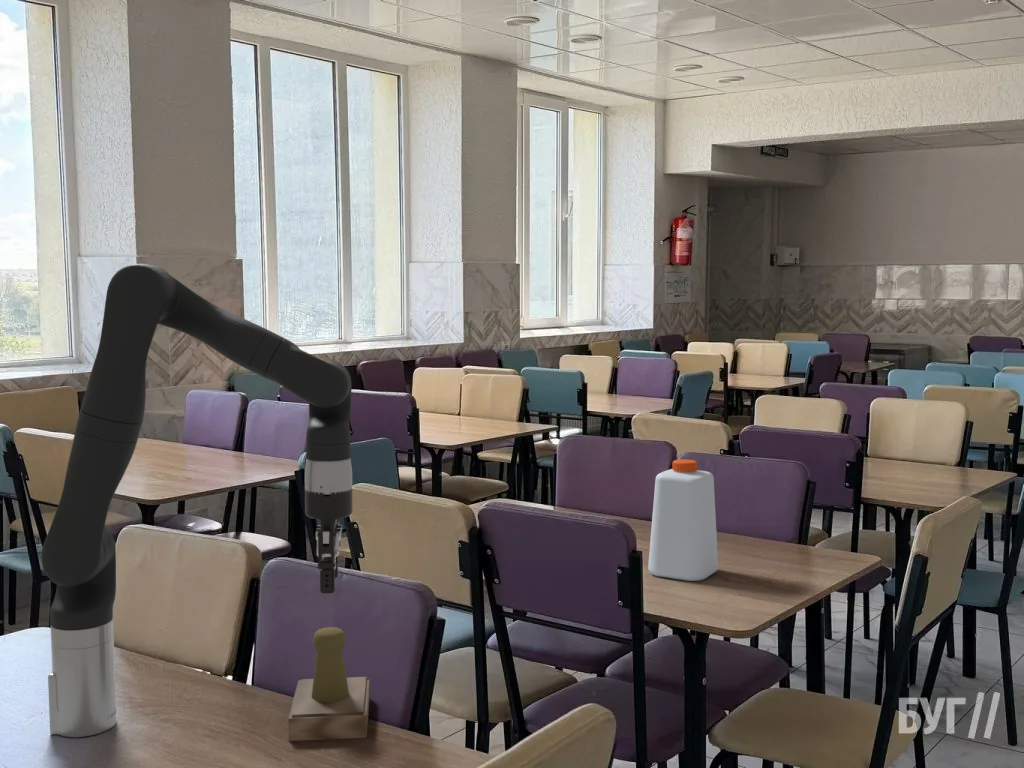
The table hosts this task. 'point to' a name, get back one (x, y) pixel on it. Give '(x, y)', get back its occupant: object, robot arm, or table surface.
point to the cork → (329, 666)
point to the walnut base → (329, 713)
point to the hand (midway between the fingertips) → (329, 585)
